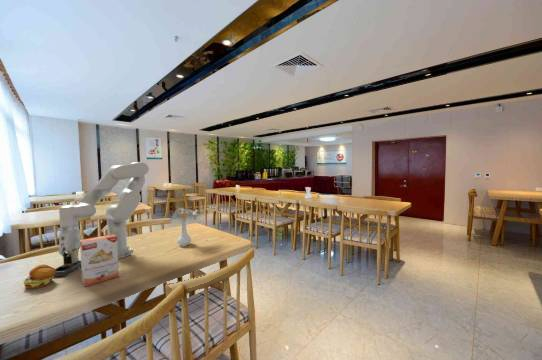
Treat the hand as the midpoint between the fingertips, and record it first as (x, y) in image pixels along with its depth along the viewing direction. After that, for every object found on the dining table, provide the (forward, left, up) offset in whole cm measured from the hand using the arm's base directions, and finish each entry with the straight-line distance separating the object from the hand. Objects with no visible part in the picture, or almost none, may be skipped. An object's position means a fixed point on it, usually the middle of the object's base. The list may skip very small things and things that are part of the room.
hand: (71, 261), depth 130 cm
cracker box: (-25, +15, -4) cm, 29 cm away
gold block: (0, 0, -2) cm, 2 cm away
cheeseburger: (+1, +17, -4) cm, 18 cm away
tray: (0, +3, -4) cm, 5 cm away
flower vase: (-51, -33, -4) cm, 61 cm away
